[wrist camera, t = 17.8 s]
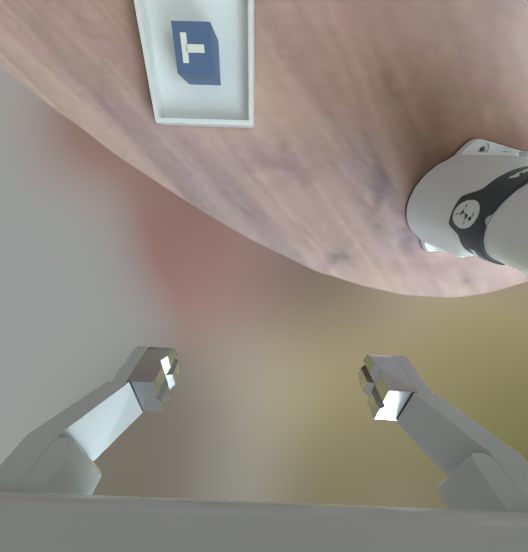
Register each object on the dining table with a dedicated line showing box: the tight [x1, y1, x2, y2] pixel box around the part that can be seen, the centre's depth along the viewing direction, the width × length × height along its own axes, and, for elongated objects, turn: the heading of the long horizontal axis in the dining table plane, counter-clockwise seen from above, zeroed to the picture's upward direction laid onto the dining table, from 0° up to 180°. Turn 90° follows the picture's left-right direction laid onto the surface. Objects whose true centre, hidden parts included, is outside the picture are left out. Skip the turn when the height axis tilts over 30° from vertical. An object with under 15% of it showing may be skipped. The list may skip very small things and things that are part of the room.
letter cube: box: [171, 21, 221, 85], centre depth 27 cm, size 4×4×5 cm
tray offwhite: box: [134, 0, 255, 128], centre depth 29 cm, size 14×14×3 cm
